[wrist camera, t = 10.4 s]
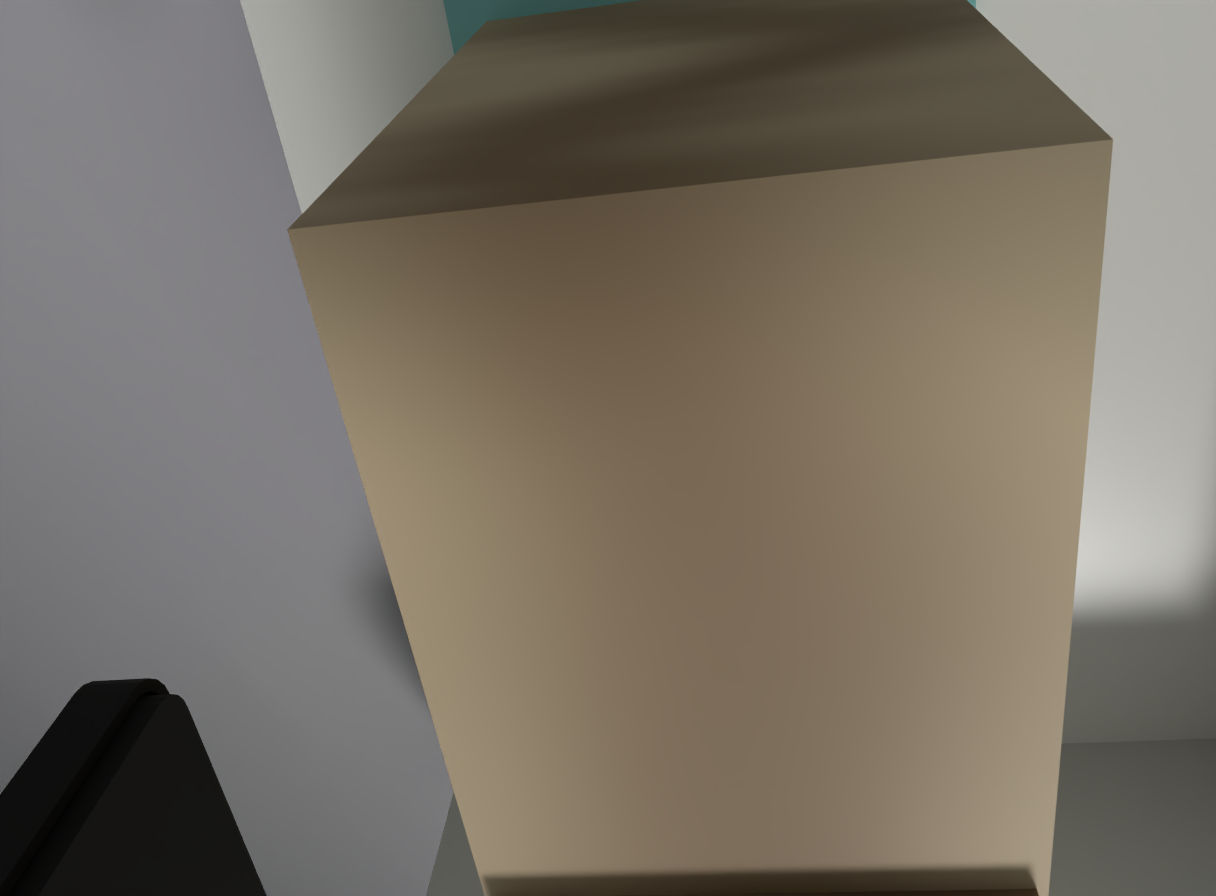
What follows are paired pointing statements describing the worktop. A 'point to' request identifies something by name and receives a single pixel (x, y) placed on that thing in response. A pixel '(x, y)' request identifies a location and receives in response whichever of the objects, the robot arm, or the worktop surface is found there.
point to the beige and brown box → (730, 438)
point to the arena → (1120, 400)
